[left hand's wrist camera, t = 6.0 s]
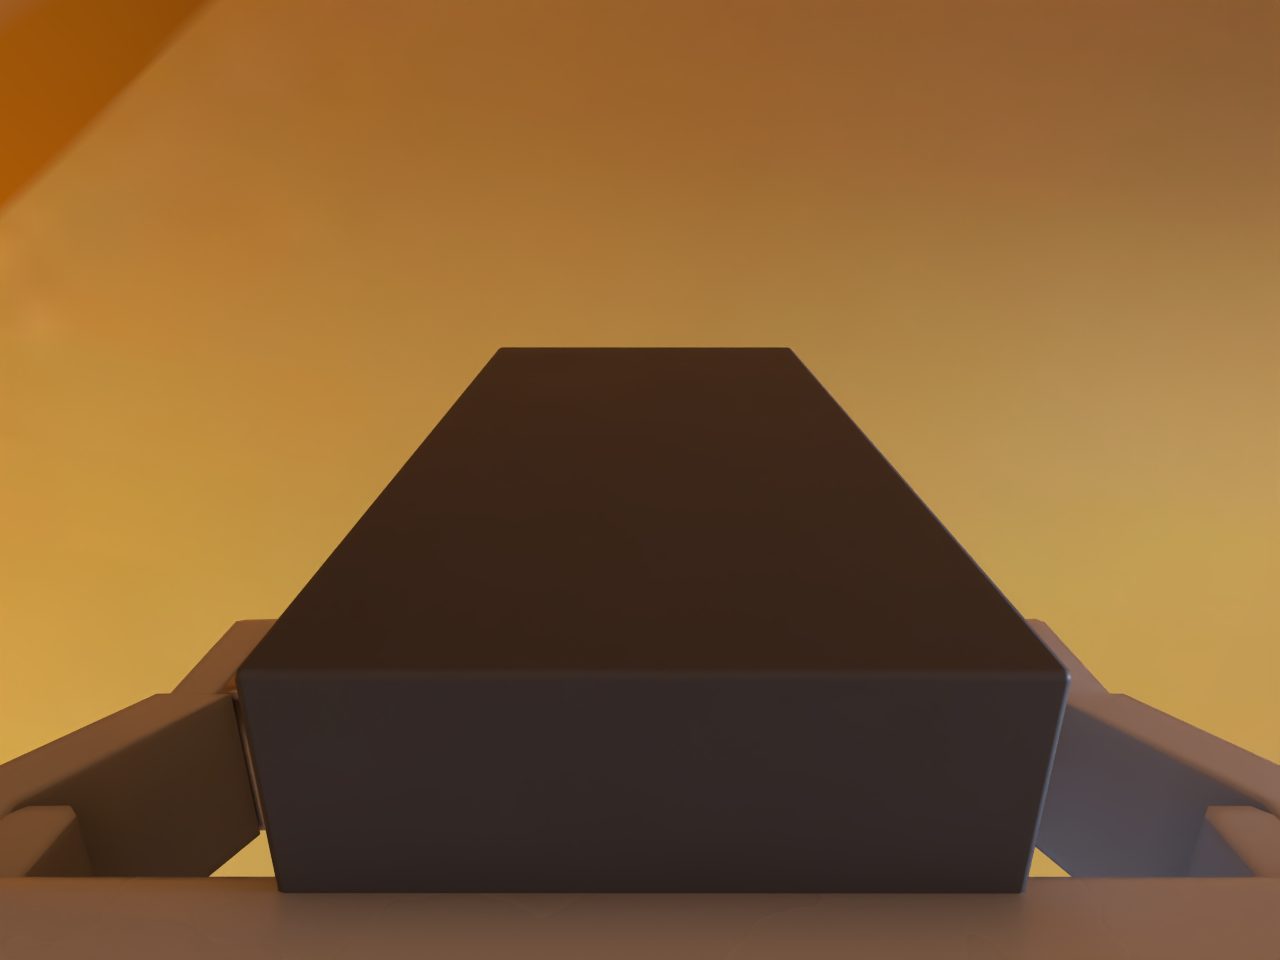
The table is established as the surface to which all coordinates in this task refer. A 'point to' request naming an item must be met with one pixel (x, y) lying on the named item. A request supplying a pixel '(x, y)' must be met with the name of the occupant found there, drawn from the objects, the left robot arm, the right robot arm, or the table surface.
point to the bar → (651, 655)
